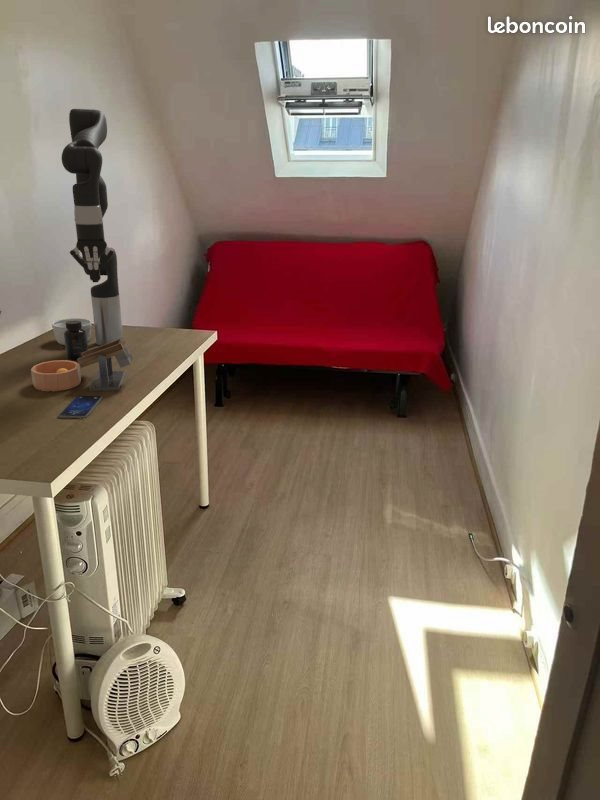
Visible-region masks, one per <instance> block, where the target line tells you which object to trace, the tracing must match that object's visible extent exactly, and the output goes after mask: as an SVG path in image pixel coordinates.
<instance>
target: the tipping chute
mask: <svg viewBox="0 0 600 800" xmlns="http://www.w3.org/2000/svg"><path fill="white" fill-rule="evenodd" d="M81 355H82V357H81V358H78V359H77V360H76V361H77V363H78V364H79V365H80V369H82V368H86V367H88V366H91V365H93V364H97V363H99V361H98V355H106V359H107V358H110V357H112V358H113V357H115V359H116V361H117V363H118V365H119V367H120V369H121V368H125V367H127V366H130V365H131V364H132V362H133V359H134V357H133V355H132V353H131V351H130V349H129V347H128V343H127V342H126V341H125V338H124V337H123V338H121V339H118V340H115V341H113V342H110V343H107V344H105V345H102V346H98V345H96V346H93V347H90V348H88V350H87V351H85V352H83V353H81Z"/></svg>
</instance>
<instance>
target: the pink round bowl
mask: <svg viewBox="0 0 600 800" xmlns="http://www.w3.org/2000/svg"><path fill="white" fill-rule="evenodd" d="M61 368H65V369H67V370H68V371H66V372H60V373H56V371H57V370H58V369H61ZM30 375H31V379H32V380H31V381H32V385H33V387H34V389H35V390H38V391H40V390H41V391H42V392H49V391H52V392H62V390H63V391H67V390H70V389H73V388H75V387H78V386H79V385H80V384H81V380H82V375H81V367H80V364H79V362H76V361H75V360H69V359H68V360H67V359H65V360H62V359H61V360H60V359H59V360H49V361H43V362H40V363H38V364H35V365H33V367H31V369H30Z"/></svg>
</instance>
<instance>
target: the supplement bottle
mask: <svg viewBox="0 0 600 800" xmlns="http://www.w3.org/2000/svg"><path fill="white" fill-rule="evenodd" d="M81 328H82V324H81V321H68V322H66V329H67V330H66V331H65V332H64V340H65V345H64V347H65V353H66V359H68V361H77V359H78V358H81V357H82V355H81V353H83V352H85V351H87V350H88V349H89V347H88V346H89V345H88V342H87V337H86V332H85V330H83V329H81Z"/></svg>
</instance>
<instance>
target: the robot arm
mask: <svg viewBox="0 0 600 800" xmlns="http://www.w3.org/2000/svg"><path fill="white" fill-rule="evenodd" d="M68 115H69V116H68V123H69V132H70V139H71V142H70V143H68V144H67V145H66V146H65V147H64V148H63V150H62V153H61V164H62V166H63V167H64V169H65V171H66V172H68V173H70V174H74V175H75V179H76V180H75V181H76V182H75V184H73V185H72V197H73V205H74V206H73V207H74V222H75V230H76V239H77V241H76V244H75V247H74V248H73V249H71V250H70V251H69V254H70V255H71V256H72V257H73V259H75V261H76V262H77V263H78V264H79V265H80V266H81V267H82V268H83V271H84V273H85V274H86V275H87V276H89V280H90V281H91V282H92V283H99V281H100V280H101V278H102V277H101V276H107V279H105V281H103V282H101V283H99V284H95V285H92V287H90V298H91V306H92V315H93V324H94V325H93V326H94V334H95V343H96V346H98V347H99V346H102V345H105V344H107V343H110V342H113V341H115V340H118V339H121V338H124V333H123V332H124V331H123V323H122V312H121V311H122V310H121V303H120V301H121V300H120V290H119V288H120V287H119V279H118V278H119V277H118V276H119V275H118V257H117V252H116V249H114V248H113V247H109V246H108V245H107V242H106V241H105V231H104V219H103V218H104V216H105V214H106V213H107V210H108V205H109V204H108V192H107V191H108V190H107V184H106V182H105V180H104V178H103V177H102V176H101V172H102V167H103V156H102V153H101V151H100V150H99V148H100V146H102V144H103V143H104V142H105V140H106V139H107V136H108V125H107V123H108V122H107V119H106V118H107V117H106V116H105V113H104V112H103V111H101V110H99V109H87V108H86V109H85V108H71V109H70V110H69V114H68ZM80 253H81V255H82V256H81V255H80Z"/></svg>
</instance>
